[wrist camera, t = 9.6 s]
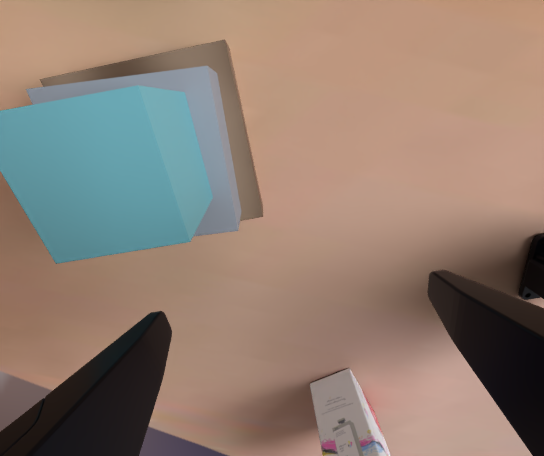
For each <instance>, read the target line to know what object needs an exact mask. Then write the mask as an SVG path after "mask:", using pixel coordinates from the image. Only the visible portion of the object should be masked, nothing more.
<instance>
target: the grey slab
mask: <svg viewBox="0 0 544 456" xmlns="http://www.w3.org/2000/svg"><path fill="white" fill-rule="evenodd" d="M137 85H139V86H146V87H153V88H160V89H166V90H173V91H180V92H185V95H186V99H187V103H188V106H189V110H190V114H191V117H192V121H193V125H194V129H195V132H196V136H197V140H198V143H199V147H200V151H201V154H202V158H203V162H204V166H205V169H206V173H207V177H208V180H209V184H210V188H211V192H212V195H213V198H212V200H211V202H210V204H209V206H208V208H207V210H206V212H205V214H204V216H203V218H202V220H201V222H200V224H199V226H198V228H197V230H196V232H195V233H194V235H193V236H200V235H208V234H216V233H224V232H232V231H238V229H239V223H240V217H241V206H240V200H239V195H238V189H237V183H236V178H235V172H234V166H233V161H232V155H231V149H230V144H229V138H228V132H227V127H226V121H225V115H224V110H223V104H222V98H221V93H220V87H219V81H218V76H217V73H216V72H215V71H214V70H212V69H211V68H210V67H208V66H201V67H193V68H186V69H178V70H170V71H162V72H155V73H147V74H139V75H132V76H124V77H116V78H108V79H101V80H93V81H85V82H77V83H70V84H62V85H54V86H47V87H39V88H31V89H26V91H27V93H28V95H29V97H30V99H31V102H32V104H33V105H34V104H40V103H45V102H51V101H56V100H61V99H67V98H72V97H78V96H83V95H88V94H94V93H99V92H105V91H110V90H115V89H121V88H126V87H132V86H137Z"/></svg>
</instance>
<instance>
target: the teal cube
mask: <svg viewBox="0 0 544 456" xmlns="http://www.w3.org/2000/svg"><path fill="white" fill-rule="evenodd" d="M0 171H1V173H2V175H3V176H4V178H5V180H6V181H7V183H8V185H9V186H10V188H11V190H12V191H13V193H14V195H15V196H16V198H17V200H18V201H19V203H20V205H21V206H22V208H23V210H24V211H25V213H26V215H27V216H28V218H29V220H30V221H31V223H32V225H33V226H34V228H35V230H36V231H37V233H38V235H39V236H40V238H41V240H42V241H43V243H44V245H45V246H46V248H47V250H48V251H49V253H50V255H51V256H52V258H53V260H54V261H55V263H56V264H57V263H63V262H69V261H76V260H82V259H88V258H94V257H100V256H106V255H112V254H119V253H125V252H131V251H137V250H143V249H149V248H155V247H162V246H168V245H174V244H180V243H186V242H190V241H191V239H192V237H193V235H194V233H195V232H196V230H197V228H198V226H199V224H200V222H201V220H202V218H203V216H204V214H205V212H206V210H207V208H208V206H209V204H210V202H211V200H212V198H213V195H212V192H211V188H210V184H209V180H208V177H207V173H206V169H205V166H204V162H203V158H202V154H201V151H200V147H199V143H198V140H197V136H196V132H195V129H194V125H193V121H192V117H191V114H190V110H189V106H188V103H187V99H186V95H185V92H180V91H173V90H166V89H160V88H153V87H146V86H139V85H137V86H132V87H126V88H121V89H115V90H110V91H105V92H99V93H94V94H88V95H83V96H78V97H72V98H67V99H61V100H56V101H51V102H45V103H40V104H34V105H29V106H24V107H18V108H13V109H7V110H2V111H0Z"/></svg>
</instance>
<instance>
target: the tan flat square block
mask: <svg viewBox="0 0 544 456" xmlns="http://www.w3.org/2000/svg"><path fill="white" fill-rule="evenodd" d="M201 66H208V67H210V68H211V69H212V70H214V71H215V72H216V73H217V76H218V81H219V87H220V93H221V98H222V104H223V110H224V115H225V121H226V127H227V132H228V138H229V144H230V149H231V155H232V161H233V166H234V172H235V178H236V183H237V189H238V195H239V200H240V206H241V217H240V221H242V220H247V219H253V218H258V217H263V204H262V199H261V195H260V190H259V185H258V181H257V176H256V171H255V166H254V162H253V157H252V152H251V148H250V143H249V138H248V134H247V129H246V124H245V119H244V115H243V110H242V105H241V101H240V96H239V91H238V86H237V82H236V77H235V72H234V68H233V63H232V58H231V53H230V49H229V47H228V45H227V43H226V41H225V40H221V41H216V42H212V43H207V44H202V45H198V46H193V47H188V48H184V49H179V50H174V51H170V52H165V53H160V54H156V55H151V56H146V57H142V58H137V59H132V60H128V61H123V62H119V63H114V64H109V65H105V66H100V67H95V68H91V69H86V70H81V71H77V72H72V73H67V74H63V75H58V76H53V77H49V78H44V79H40V81H41V83H42V85H43V87H47V86H54V85H62V84H70V83H77V82H85V81H93V80H101V79H108V78H116V77H124V76H132V75H139V74H147V73H155V72H162V71H170V70H178V69H186V68H193V67H201Z"/></svg>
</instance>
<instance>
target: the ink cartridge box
mask: <svg viewBox="0 0 544 456" xmlns="http://www.w3.org/2000/svg"><path fill="white" fill-rule="evenodd" d="M310 389H311V394H312V400H313V405H314V411H315V416H316V421H317V427H318V432H319V438H320V443H321V449H322V454H323V456H391V455H390V453H389V450H388V447H387V444H386V442H385V439H384V436H383V434H382V431H381V429H380V426H379V423H378V421H377V418H376V415H375V413H374V410H373V409H372V407H371V405H370V404H369V402H368V400H367V398H366V397H365V395H364V393H363V391H362V389H361V388H360V386H359V384H358V382H357V381H356V379H355V377H354V375H353V373H352V372H351V370H350V369H349V368H348V369H346V370H343V371H341V372H338V373H336V374H333V375H330V376H328V377H325V378H323V379H320V380H318V381H315V382H312V383H311V384H310Z"/></svg>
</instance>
